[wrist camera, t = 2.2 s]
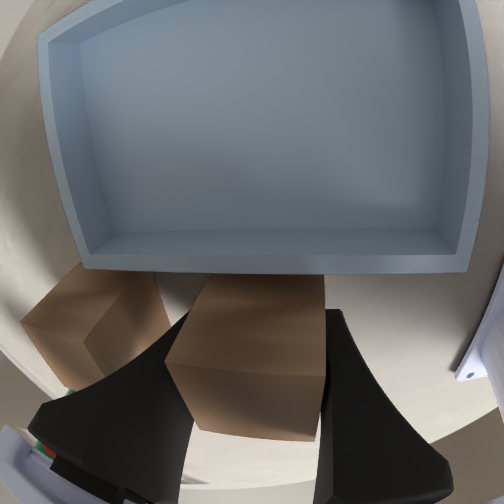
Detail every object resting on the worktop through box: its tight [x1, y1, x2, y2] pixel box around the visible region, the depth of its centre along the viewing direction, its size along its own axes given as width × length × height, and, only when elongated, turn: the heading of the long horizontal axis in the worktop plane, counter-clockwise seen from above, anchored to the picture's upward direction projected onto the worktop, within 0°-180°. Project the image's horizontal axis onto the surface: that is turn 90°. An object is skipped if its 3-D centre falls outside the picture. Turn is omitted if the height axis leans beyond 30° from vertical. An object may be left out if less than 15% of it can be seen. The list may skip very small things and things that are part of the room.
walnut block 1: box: [20, 262, 171, 391], centre depth 11 cm, size 4×4×5 cm
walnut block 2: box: [164, 273, 326, 442], centre depth 10 cm, size 4×4×5 cm
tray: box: [37, 0, 490, 274], centre depth 7 cm, size 13×9×2 cm
